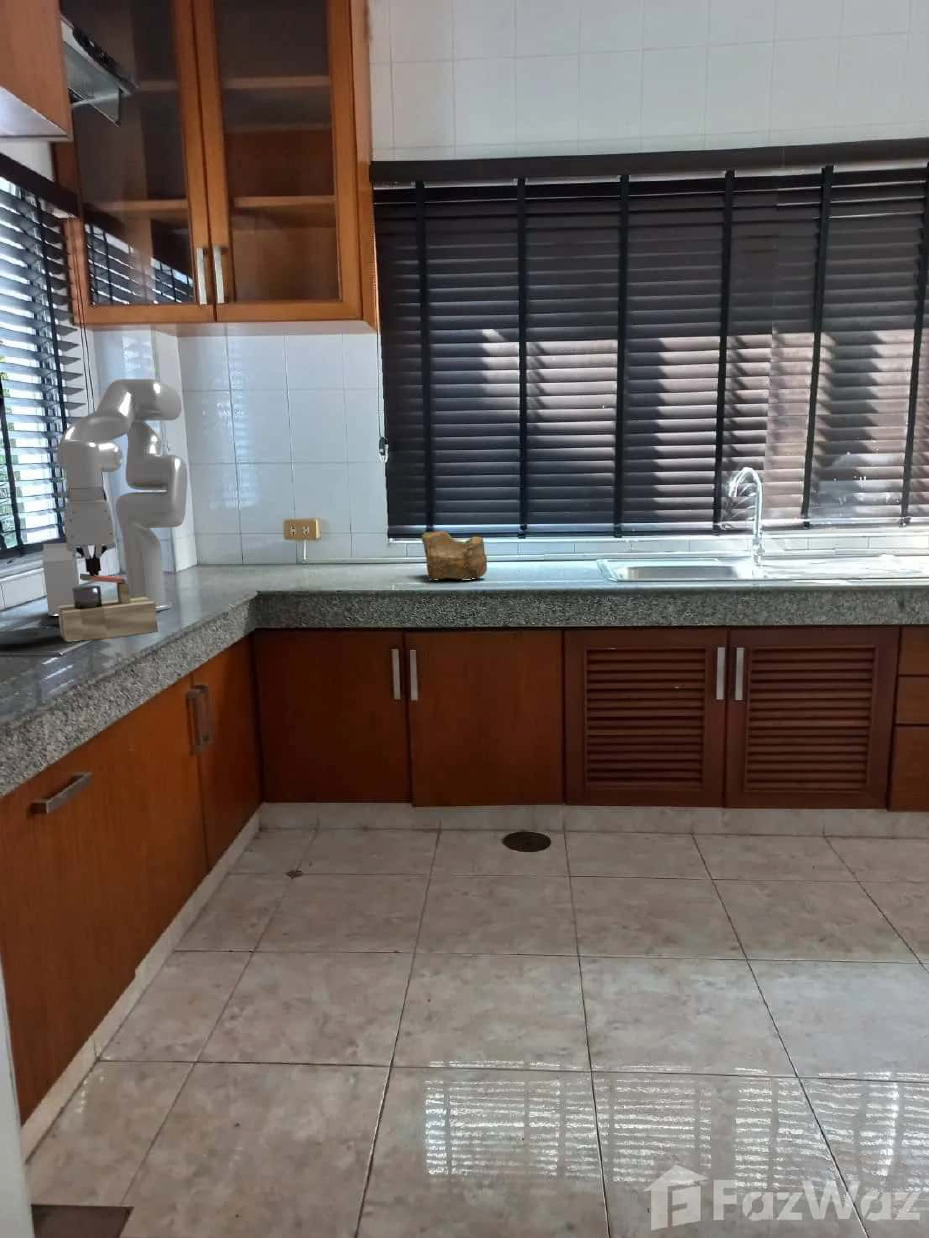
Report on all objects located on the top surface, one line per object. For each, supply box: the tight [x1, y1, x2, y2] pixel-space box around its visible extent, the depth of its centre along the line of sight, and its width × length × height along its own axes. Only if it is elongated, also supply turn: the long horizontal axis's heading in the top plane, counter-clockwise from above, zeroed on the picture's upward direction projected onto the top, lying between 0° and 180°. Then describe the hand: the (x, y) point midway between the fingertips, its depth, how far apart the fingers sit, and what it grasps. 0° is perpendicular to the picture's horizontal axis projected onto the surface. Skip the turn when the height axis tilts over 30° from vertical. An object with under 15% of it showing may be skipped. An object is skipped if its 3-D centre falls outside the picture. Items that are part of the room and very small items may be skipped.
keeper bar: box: [79, 573, 127, 584], centre depth 198 cm, size 5×10×1 cm, turn 123°
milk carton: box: [41, 542, 80, 616], centre depth 223 cm, size 7×7×19 cm
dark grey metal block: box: [72, 584, 103, 609], centre depth 198 cm, size 6×6×11 cm
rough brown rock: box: [421, 530, 488, 580], centre depth 272 cm, size 23×17×15 cm
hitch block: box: [58, 582, 159, 643], centre depth 200 cm, size 10×20×12 cm, turn 123°
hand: (94, 574), depth 197 cm, fingers closed
